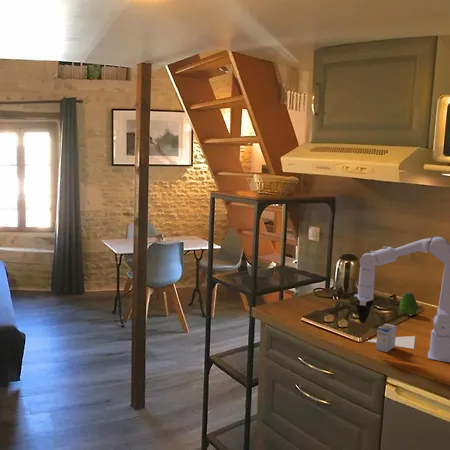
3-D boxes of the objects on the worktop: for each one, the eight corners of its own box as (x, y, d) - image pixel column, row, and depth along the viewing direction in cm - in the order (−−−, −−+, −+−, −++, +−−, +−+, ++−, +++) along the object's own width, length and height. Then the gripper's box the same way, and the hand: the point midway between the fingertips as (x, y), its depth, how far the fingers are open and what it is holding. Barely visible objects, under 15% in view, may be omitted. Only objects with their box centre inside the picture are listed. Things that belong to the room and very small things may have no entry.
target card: (415, 334, 210) (415, 333, 210) (413, 349, 192) (413, 348, 192) (365, 326, 217) (365, 326, 217) (359, 340, 199) (360, 340, 199)
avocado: (395, 315, 238) (397, 290, 236) (407, 314, 241) (410, 289, 239) (407, 320, 230) (409, 294, 229) (420, 319, 233) (422, 293, 232)
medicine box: (383, 344, 195) (385, 323, 194) (394, 347, 192) (396, 325, 191) (375, 349, 189) (377, 327, 188) (387, 352, 186) (388, 330, 185)
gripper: (358, 280, 199) (355, 313, 201) (352, 287, 186) (350, 323, 187) (376, 282, 197) (373, 316, 198) (372, 289, 183) (369, 325, 185)
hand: (363, 319), depth 193 cm, fingers open, 7 cm apart
